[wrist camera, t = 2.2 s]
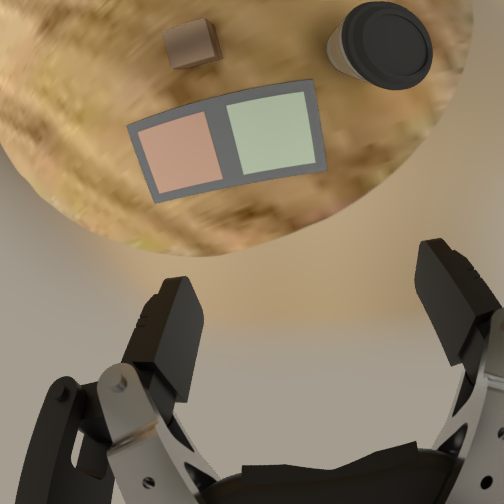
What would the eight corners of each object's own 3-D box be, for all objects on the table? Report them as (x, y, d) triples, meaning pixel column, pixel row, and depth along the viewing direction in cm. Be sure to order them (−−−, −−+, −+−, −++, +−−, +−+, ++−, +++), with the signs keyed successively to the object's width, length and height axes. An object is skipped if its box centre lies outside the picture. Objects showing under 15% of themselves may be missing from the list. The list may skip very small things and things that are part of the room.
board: (127, 125, 35) (125, 126, 35) (312, 79, 31) (312, 79, 30) (155, 202, 43) (154, 204, 42) (326, 169, 38) (327, 171, 38)
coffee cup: (307, 65, 30) (333, 61, 18) (330, 10, 25) (367, -22, 13) (370, 93, 31) (424, 111, 19) (392, 40, 26) (454, 34, 14)
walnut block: (177, 36, 28) (161, 31, 23) (214, 25, 27) (204, 17, 22) (185, 69, 31) (171, 68, 26) (222, 58, 30) (214, 56, 25)
